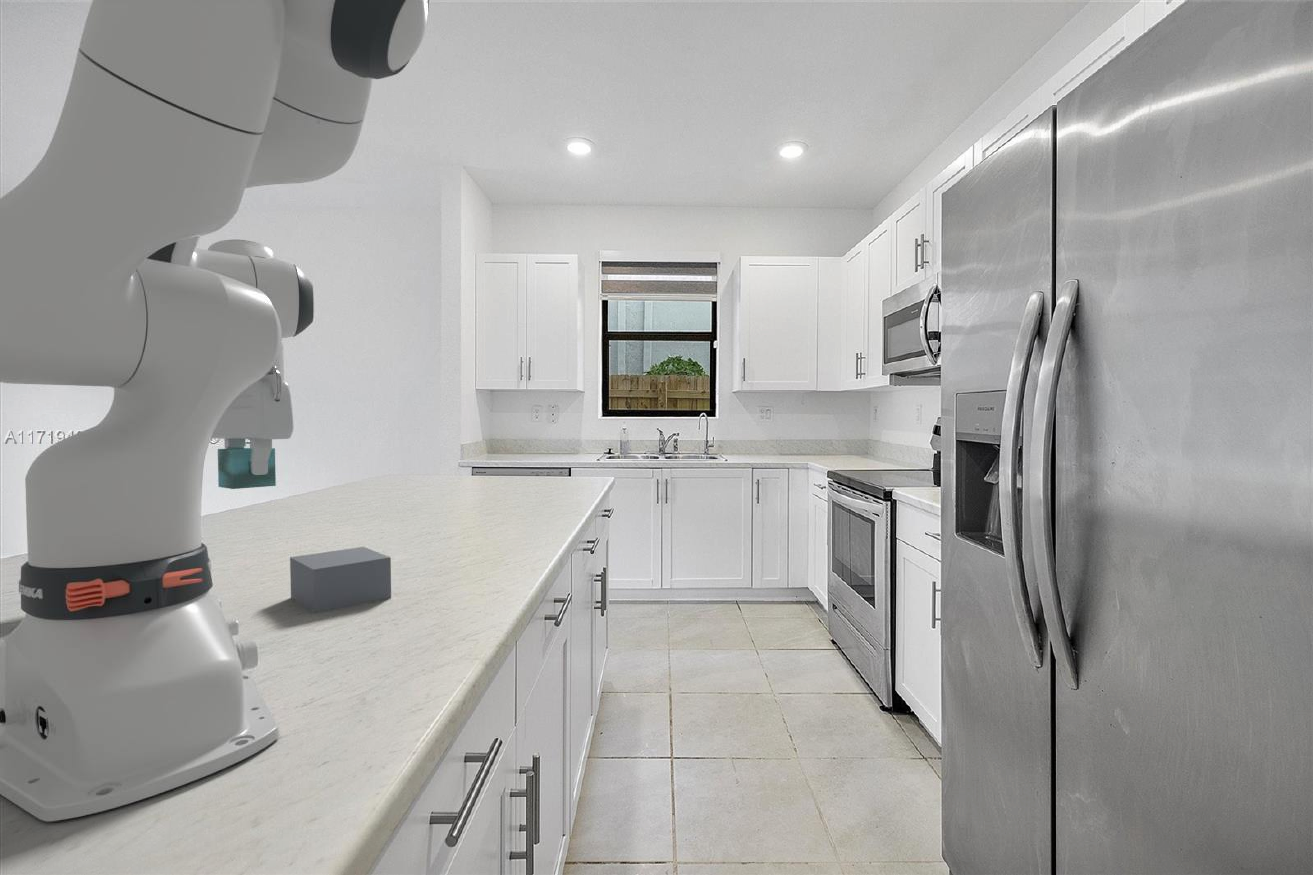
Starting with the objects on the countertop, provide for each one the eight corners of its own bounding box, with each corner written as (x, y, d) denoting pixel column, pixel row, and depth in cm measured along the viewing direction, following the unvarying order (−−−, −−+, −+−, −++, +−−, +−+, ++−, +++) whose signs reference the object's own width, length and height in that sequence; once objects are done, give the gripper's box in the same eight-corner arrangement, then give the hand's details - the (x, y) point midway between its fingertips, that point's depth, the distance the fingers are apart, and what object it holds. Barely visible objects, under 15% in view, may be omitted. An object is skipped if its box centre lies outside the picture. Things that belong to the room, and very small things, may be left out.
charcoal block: (391, 599, 90) (390, 557, 89) (314, 615, 83) (313, 569, 82) (364, 586, 97) (363, 546, 96) (290, 599, 90) (290, 557, 89)
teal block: (275, 485, 85) (274, 448, 85) (233, 489, 81) (232, 449, 81) (260, 483, 88) (259, 447, 88) (218, 486, 84) (217, 449, 84)
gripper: (305, 365, 80) (308, 475, 81) (242, 374, 93) (245, 469, 93) (249, 362, 75) (253, 479, 76) (191, 372, 88) (194, 472, 88)
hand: (248, 473), depth 84 cm, fingers closed on teal block, 5 cm apart
